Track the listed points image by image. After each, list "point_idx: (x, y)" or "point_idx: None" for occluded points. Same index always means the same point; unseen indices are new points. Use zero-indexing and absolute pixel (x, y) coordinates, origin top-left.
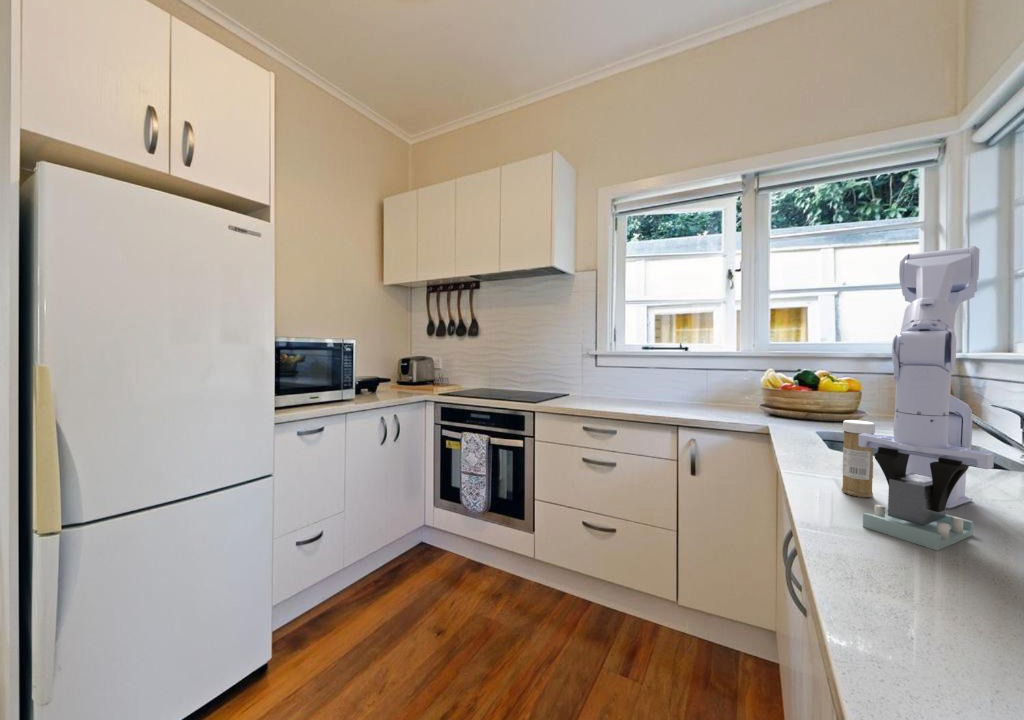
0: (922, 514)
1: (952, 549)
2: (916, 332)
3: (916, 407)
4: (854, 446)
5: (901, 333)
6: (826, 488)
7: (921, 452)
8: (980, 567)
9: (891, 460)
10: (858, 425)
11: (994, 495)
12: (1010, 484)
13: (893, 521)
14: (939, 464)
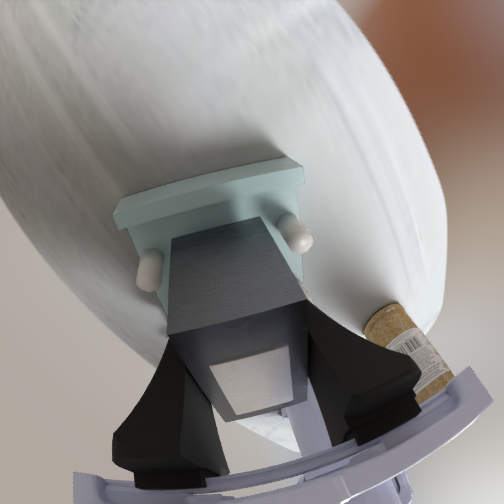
0: (172, 257)
1: (126, 241)
2: None
3: None
4: (440, 384)
5: None
6: (419, 293)
7: (282, 479)
8: (50, 207)
9: (349, 388)
10: None
11: (282, 433)
12: (292, 448)
13: (225, 191)
14: (150, 460)
